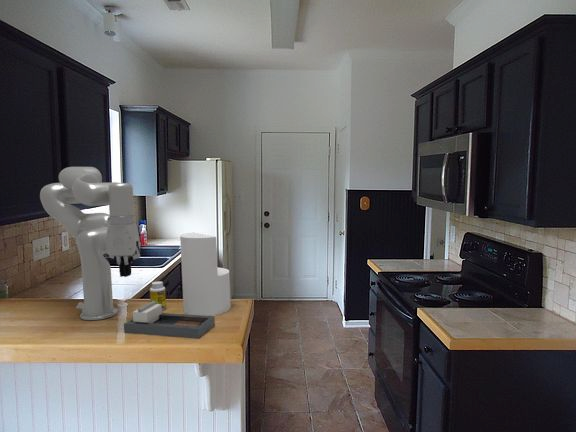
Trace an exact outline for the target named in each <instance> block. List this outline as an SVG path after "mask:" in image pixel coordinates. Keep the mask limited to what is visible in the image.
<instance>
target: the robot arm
mask: <svg viewBox="0 0 576 432" xmlns="http://www.w3.org/2000/svg"><path fill="white" fill-rule="evenodd" d="M102 176H103V175H102V174H101V172H100V170H99V169H97V167H94V166H69V167H65V168H63V169H62V170H61V171H60V172H59V174H58V182H52V183H49V184H46V185H44V186H43V187H42V188H41V190H40V193H39V199H40V203H41V204H42V207H43V209H44V211H45V212H46V213H47V214H48V215H49V216H50V217H51V218H52V219H54V220H56V221H57V222H58V223H59V224H60V225H61V226H62V227H63V228H64V229H65V231H67V232H68V234H70V235H71V237H72V238H74V239H75V240H76V246H77V249H78V250H77V251H78V254H79V259H80V265H81V276H82V289H83V290H82V291H83V292H82V294H83V302H82V301H79V302H78V303H77V305H76V307H75V308H76V309H77V310H81V312H80V314H79V317H80V319H81V320H84V321H98V320H104V319H109V318H113V317H114V316H117V314H118V313H119V309H118V308H117V307H115V306H114V300H113V297H114V296H113V282H112V269H111V265H110V262H109V260H108V259H107V258H106V257H105V256H104V255H105V254H107V255H108V257H109V259H113V260H115V262H116V265H118V267H119V277H120V278H122V277H124V278H126V277H129V276H131V275H132V263H133V262H134V260H137V259H140V258H141V242H140V241H141V240H140V233H139V230H138V226H137V224H136V223H135V222H136V221H135V206H134V205H135V204H134V187H133V185H132V184H131V183H129V182H116V181H115V182H114V181H113V182H102V181H103V178H102ZM74 204H76V205H77V204H82V205H84V206H87V207H97V206H108V209H109V210H108V211H109V212H108V213H109V214H108V213H106V212H94V213H93V212H92V213H85V212H83V211H82V210H81V209H80V208H79V207H77V206H75V205H74Z"/></svg>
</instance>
